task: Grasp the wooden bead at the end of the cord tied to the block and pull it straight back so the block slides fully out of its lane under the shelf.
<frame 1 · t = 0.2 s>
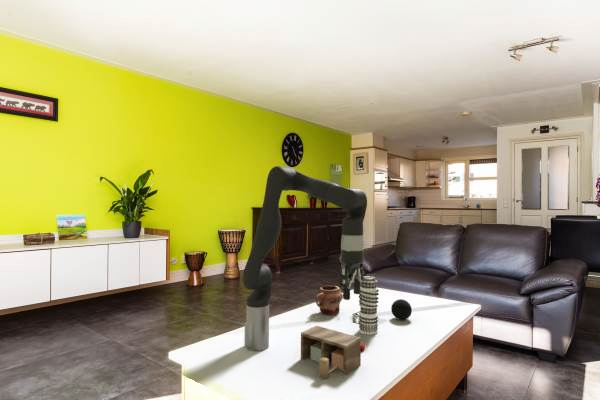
hand: (351, 296, 121), 28 cm above the table, fingers open, 8 cm apart
tethered block: (333, 362, 127), point 3 cm above the table, slide at 0.0 cm
shelf block: (319, 358, 137), on the table
stacked ring tower: (368, 331, 166), on the table
shelf: (330, 361, 134), on the table
decorative ball: (401, 319, 184), on the table
race car: (348, 349, 146), on the table
decorative planter: (328, 313, 192), on the table
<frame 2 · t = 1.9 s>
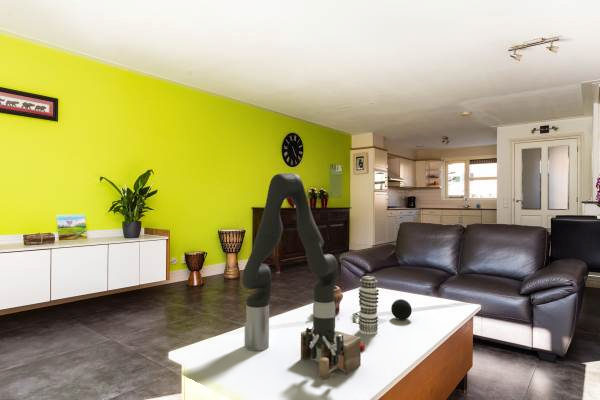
hand: (324, 361, 122), 5 cm above the table, fingers open, 8 cm apart
nothing on the table moved.
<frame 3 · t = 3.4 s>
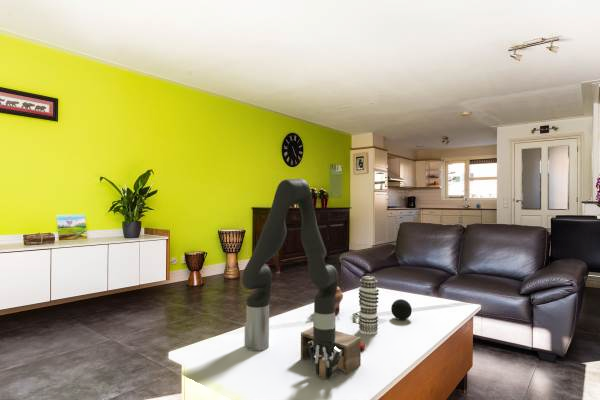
hand: (324, 375, 122), 1 cm above the table, fingers closed on tethered block, 3 cm apart
tethered block: (333, 362, 127), point 3 cm above the table, slide at 0.0 cm, touching gripper
everything else where it was.
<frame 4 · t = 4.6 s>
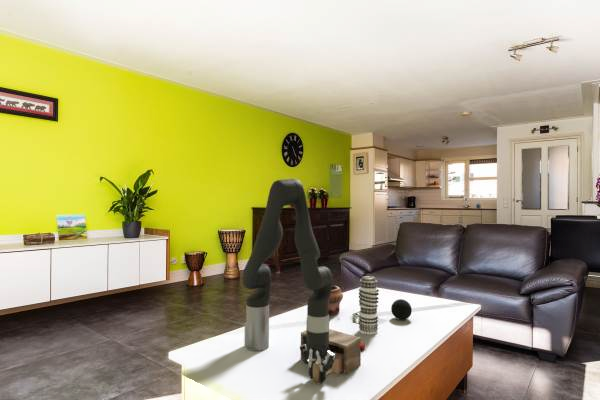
hand: (317, 379, 119), 1 cm above the table, fingers closed on tethered block, 3 cm apart
tethered block: (327, 366, 124), point 3 cm above the table, slide at 3.9 cm, touching gripper
everything else where it was.
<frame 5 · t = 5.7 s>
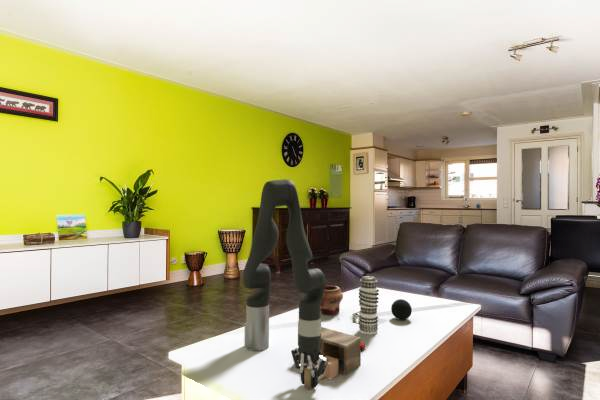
hand: (309, 384, 116), 1 cm above the table, fingers closed on tethered block, 3 cm apart
tethered block: (319, 370, 121), point 3 cm above the table, slide at 8.4 cm, touching gripper
everything else where it was.
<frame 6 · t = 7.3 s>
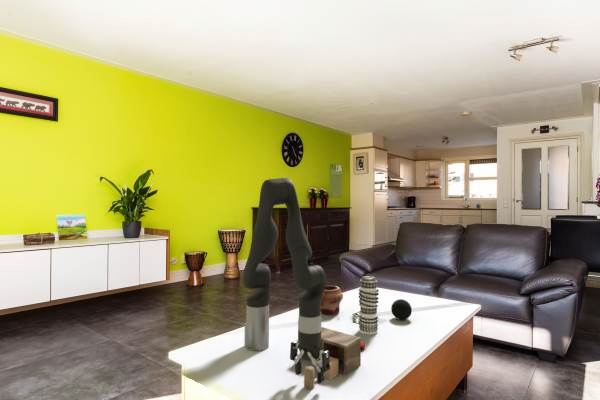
hand: (309, 378, 116), 3 cm above the table, fingers open, 8 cm apart
tethered block: (319, 370, 121), point 3 cm above the table, slide at 8.4 cm
everything else where it was.
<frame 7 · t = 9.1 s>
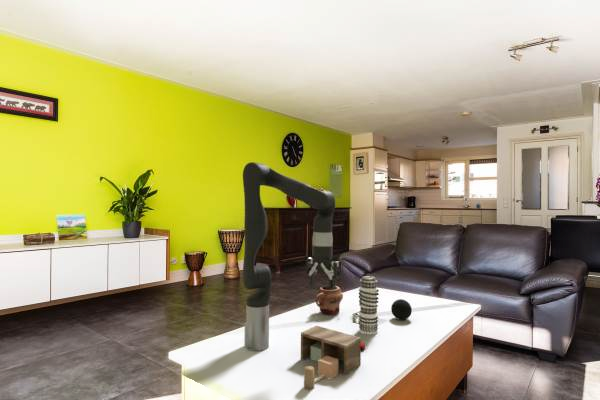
hand: (322, 287, 135), 28 cm above the table, fingers open, 8 cm apart
nothing on the table moved.
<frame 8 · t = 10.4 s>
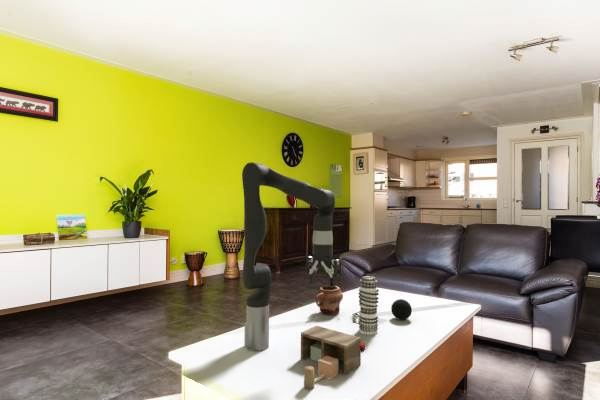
hand: (322, 285, 135), 28 cm above the table, fingers open, 8 cm apart
nothing on the table moved.
at the end: tethered block slide at 8.4 cm; the gripper is holding nothing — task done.
